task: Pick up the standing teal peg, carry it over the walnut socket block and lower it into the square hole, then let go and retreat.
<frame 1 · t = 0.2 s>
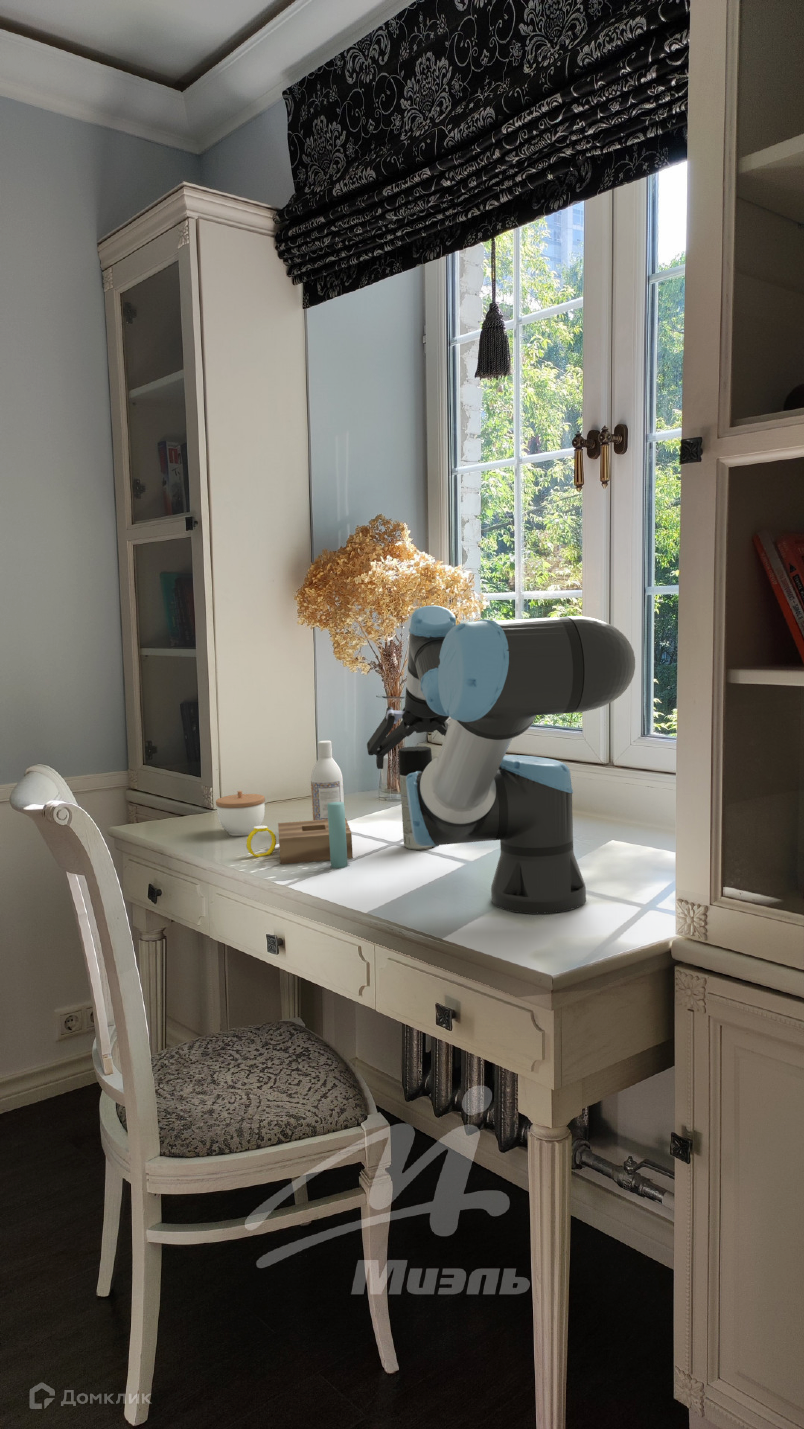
hand: (420, 777, 181), 16 cm above the table, tool tilted 35°, fingers open, 13 cm apart
lidded jar: (242, 833, 215), on the table
watch: (262, 856, 194), on the table
peg: (339, 866, 183), on the table
bath foam: (329, 832, 211), on the table
socket: (315, 852, 194), on the table
spray can: (419, 847, 195), on the table
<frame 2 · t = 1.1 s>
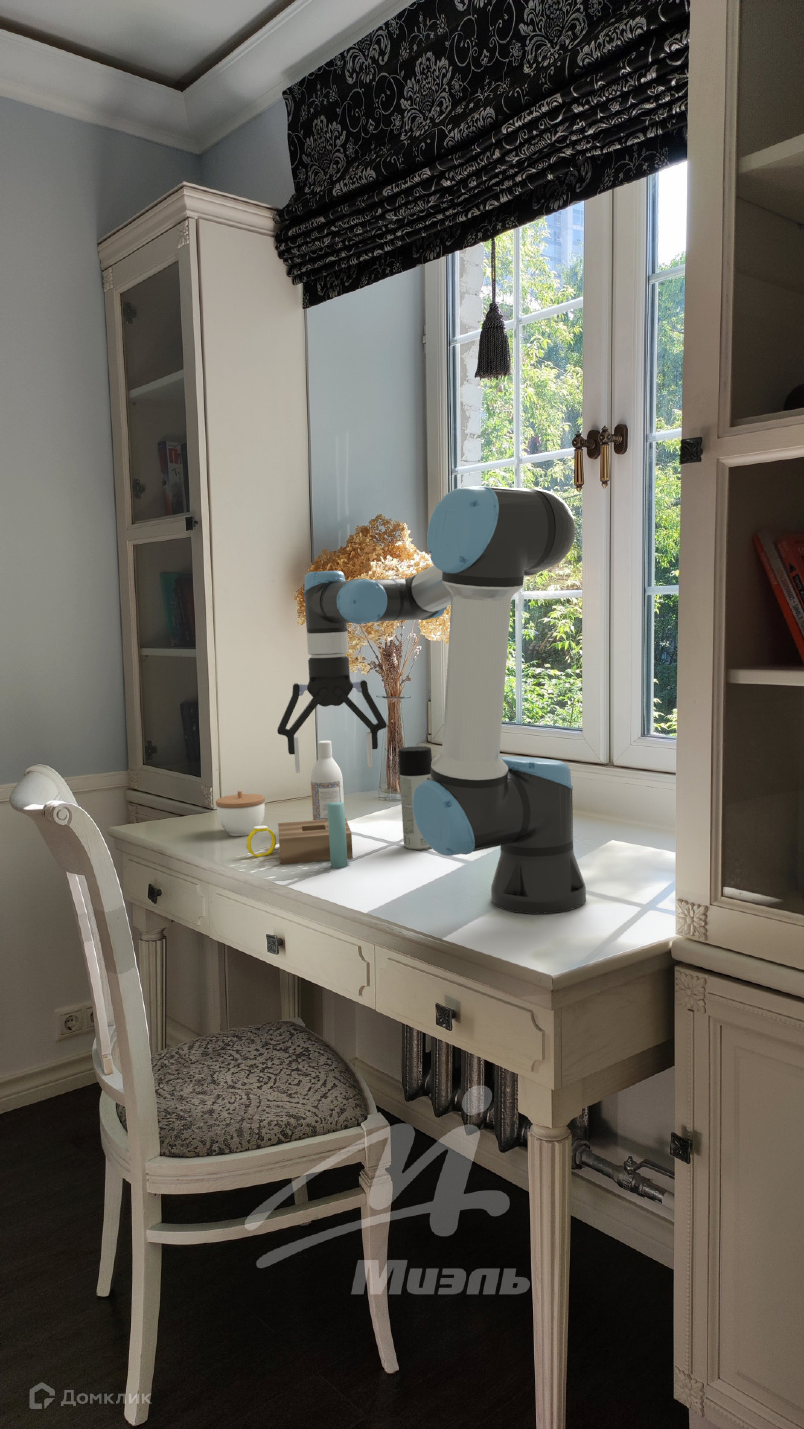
hand: (334, 769, 181), 18 cm above the table, tool pointing down, fingers open, 13 cm apart
nothing on the table moved.
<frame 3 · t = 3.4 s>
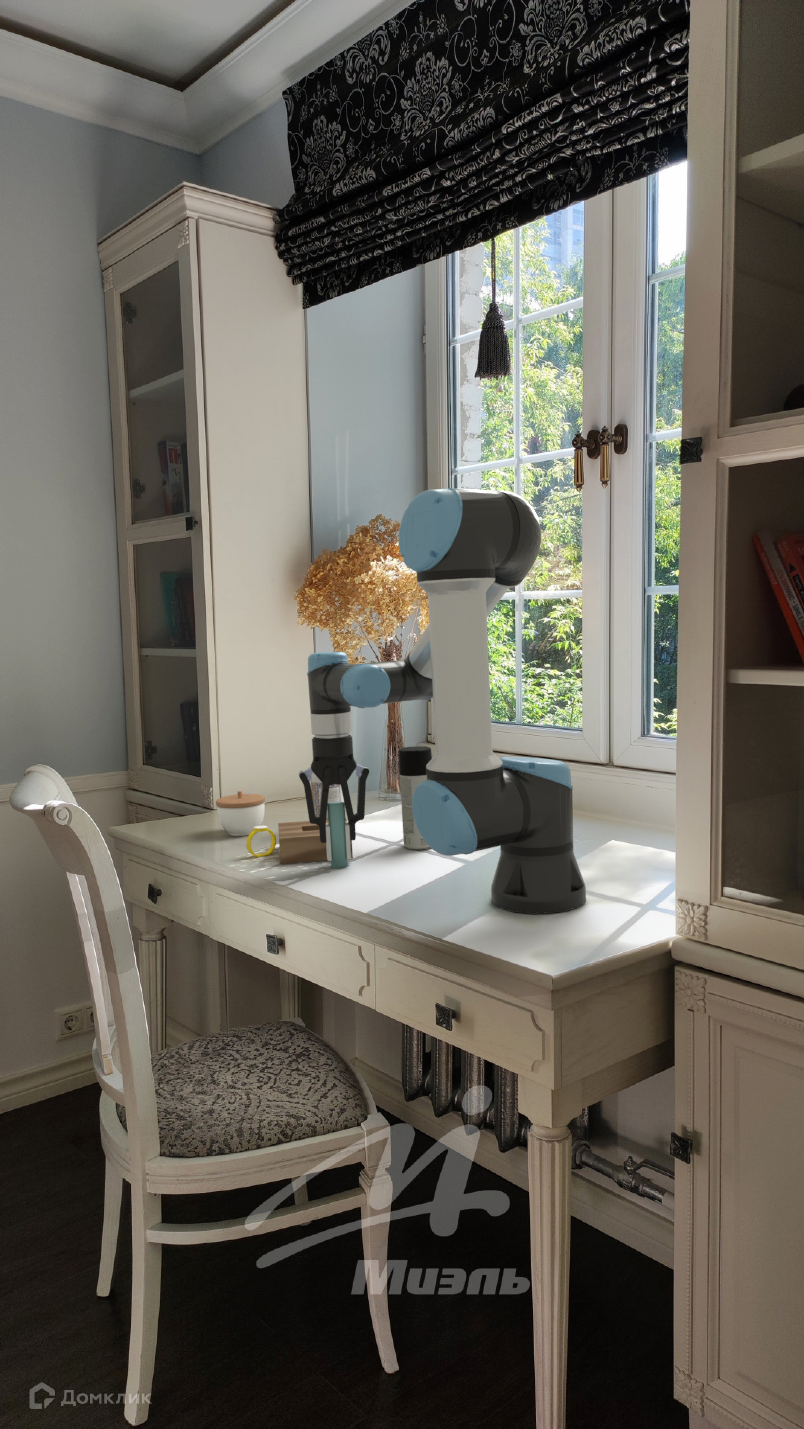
hand: (338, 857, 183), 2 cm above the table, tool pointing down, fingers closed on peg, 3 cm apart
peg: (339, 865, 183), on the table, touching gripper
everything else where it was.
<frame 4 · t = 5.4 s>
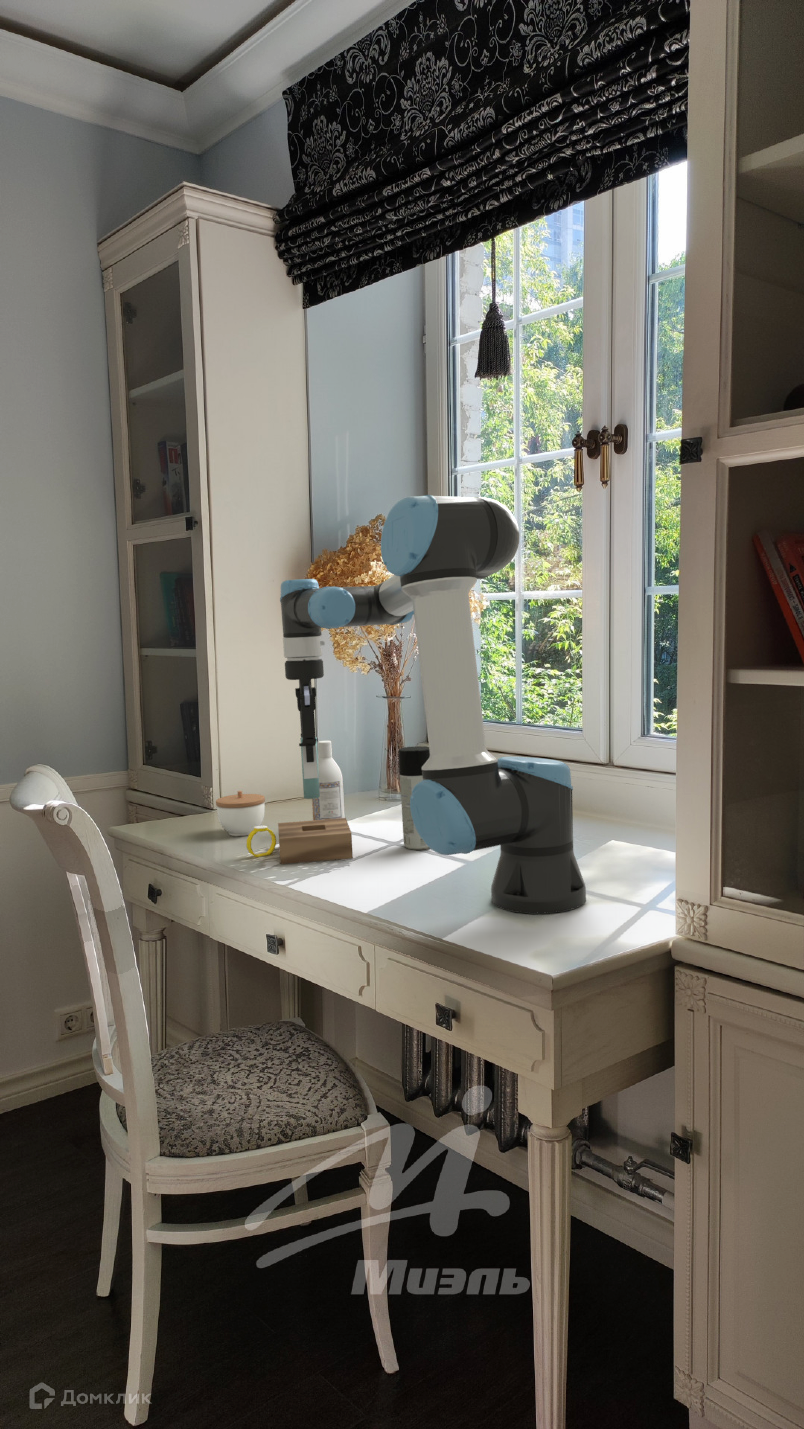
hand: (310, 776, 192), 15 cm above the table, tool pointing down, fingers closed on peg, 3 cm apart
peg: (311, 797, 193), point 11 cm above the table, touching gripper
everything else where it was.
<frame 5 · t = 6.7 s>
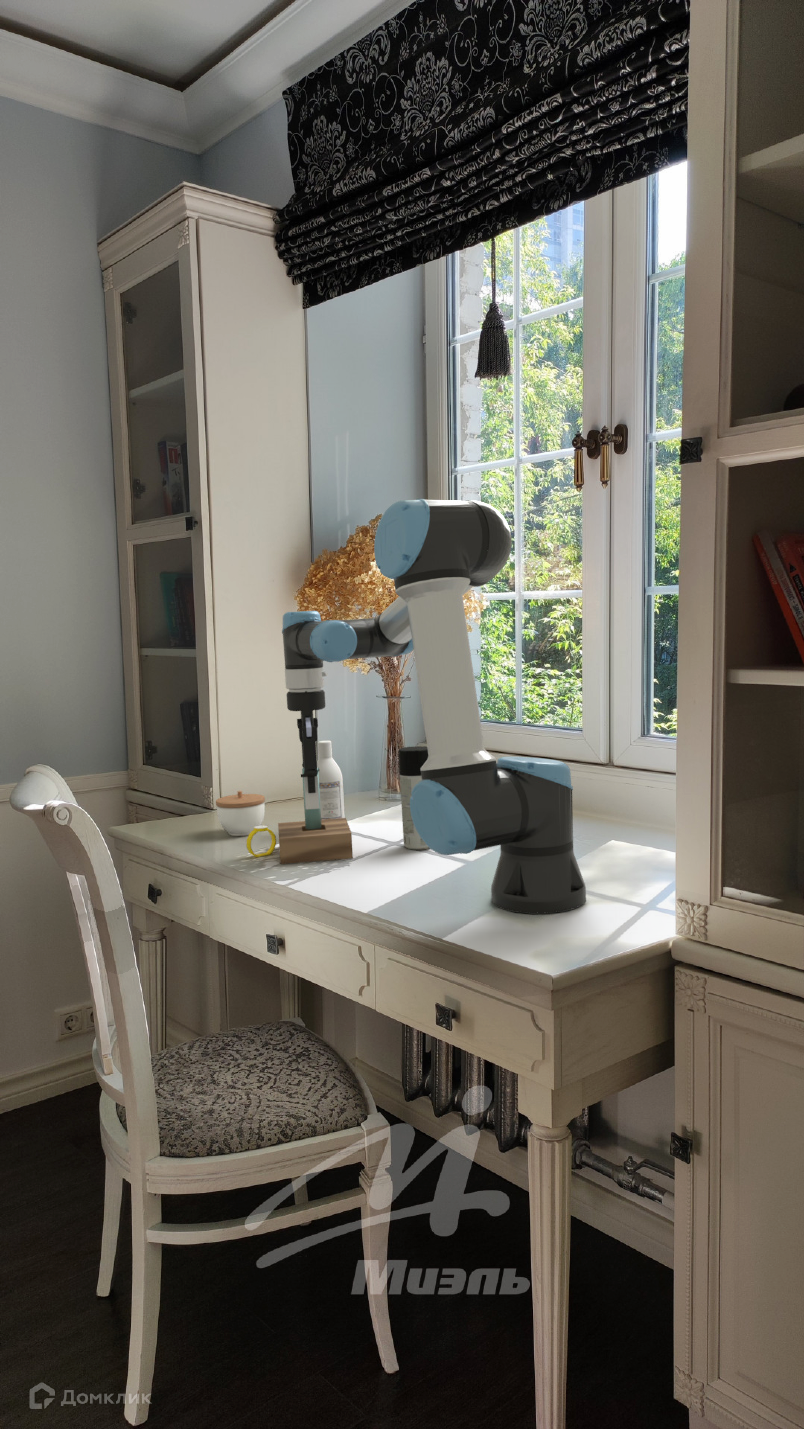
hand: (312, 806, 193), 9 cm above the table, tool pointing down, fingers closed on peg, 3 cm apart
peg: (313, 827, 194), point 5 cm above the table, touching gripper
everything else where it was.
when the fingers open (6 cm above the table, at t = 7.8 s): peg drops 1 cm, resting in socket.
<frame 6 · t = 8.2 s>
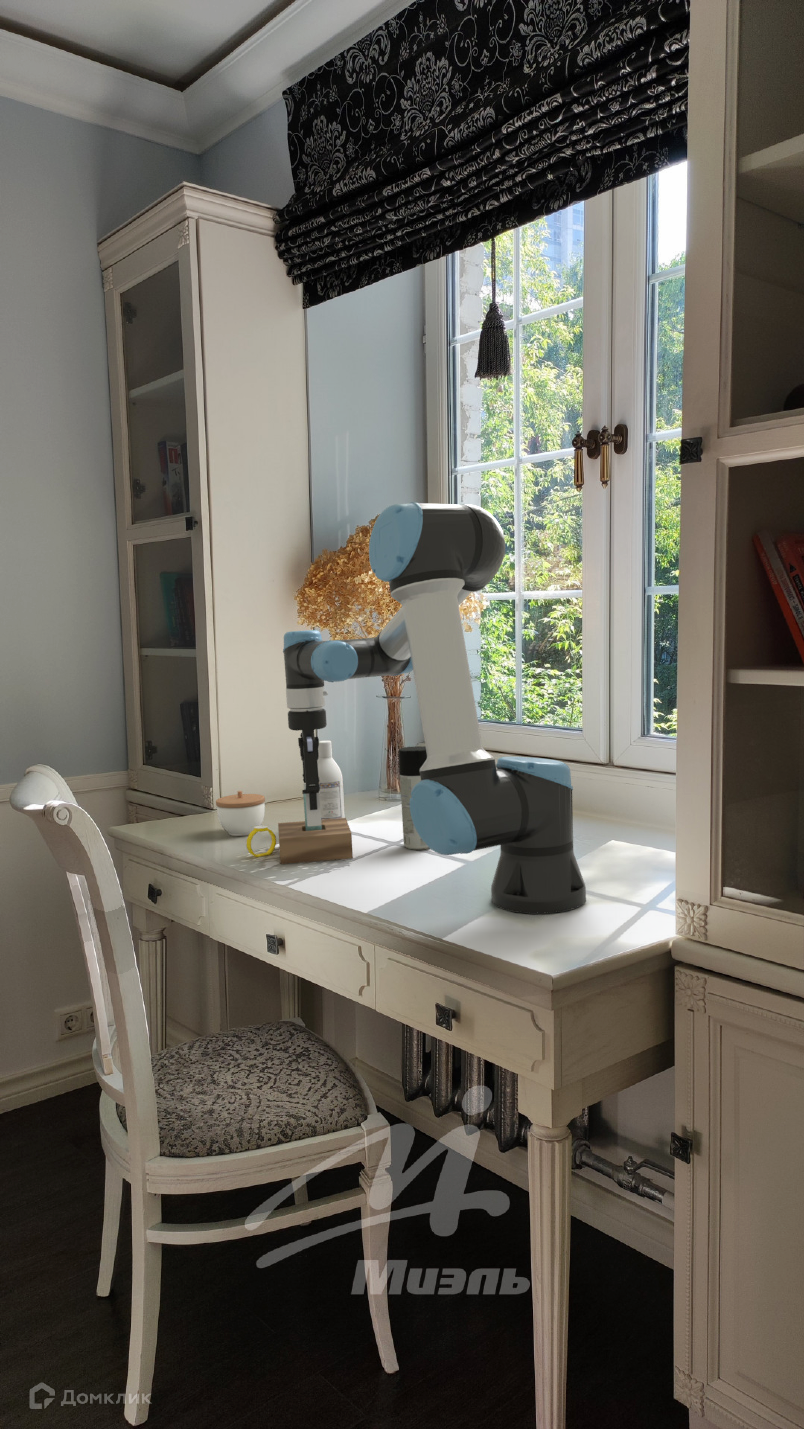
hand: (313, 820, 193), 7 cm above the table, tool pointing down, fingers open, 9 cm apart
peg: (315, 852, 194), resting in socket
everything else where it was.
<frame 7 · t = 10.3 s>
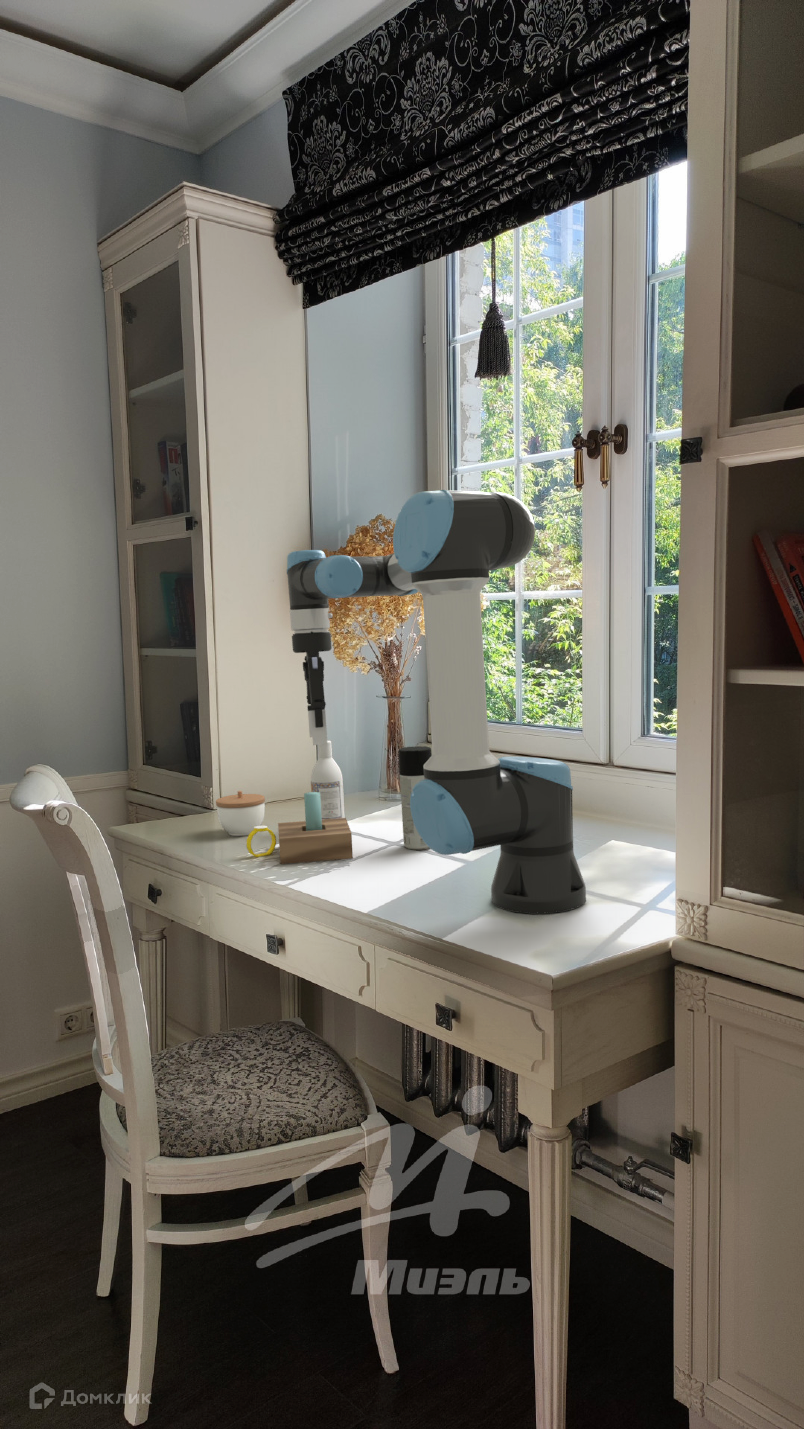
hand: (318, 740, 189), 23 cm above the table, tool pointing down, fingers open, 13 cm apart
nothing on the table moved.
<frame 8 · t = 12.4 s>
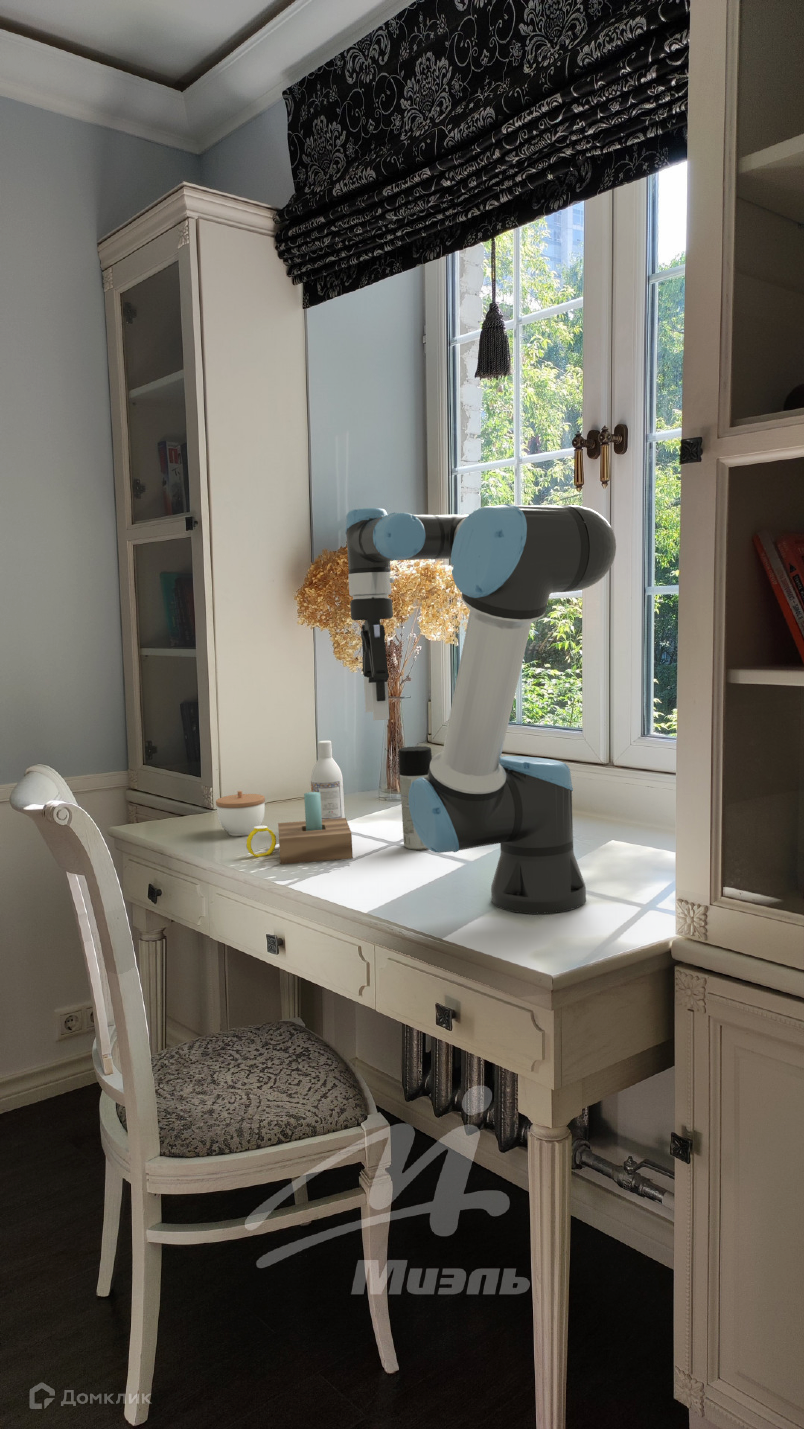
hand: (377, 715, 175), 29 cm above the table, tool pointing down, fingers open, 13 cm apart
nothing on the table moved.
at the end: peg 0.1 cm off-centre on the socket, point 0.0 cm above the socket's base; peg tilted 0°; the gripper is holding nothing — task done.
